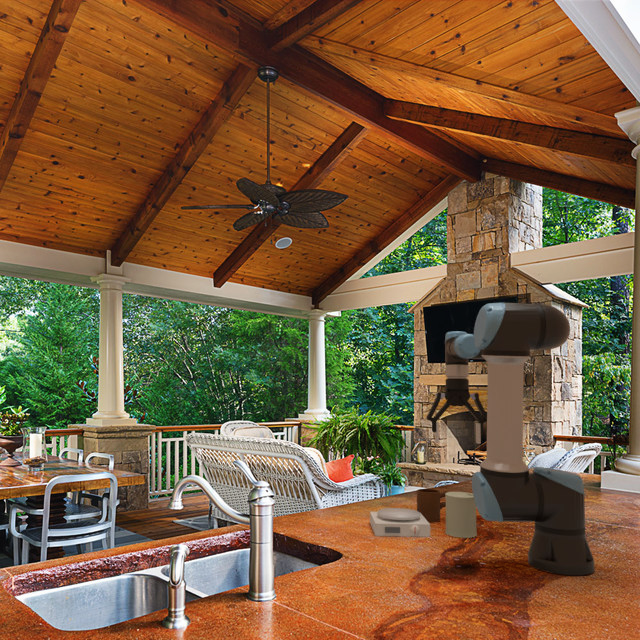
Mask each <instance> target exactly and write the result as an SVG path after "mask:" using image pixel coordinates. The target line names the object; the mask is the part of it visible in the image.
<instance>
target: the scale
mask: <svg viewBox="0 0 640 640" xmlns="http://www.w3.org/2000/svg"><path fill="white" fill-rule="evenodd" d="M369 523H370V526H371V529H372V531H373V534H374V536H375V537H405V538H406V537H409V538H410V537H411V538H412V537H413V538H414V537H415V538H416V537H417V538H431V524H430V522H428V521H427V520H426V519H425V518H424V517H423V515H422V514H421V513H420V512H418V511H417V510H415V509H411V508H404V507H403V508H402V507H400V508H399V507H387V508H386V507H385V508H379V509H378V510H377V511H370V512H369Z"/></svg>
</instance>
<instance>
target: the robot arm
mask: <svg viewBox="0 0 640 640" xmlns="http://www.w3.org/2000/svg"><path fill="white" fill-rule="evenodd" d="M570 332H571V325H570V322H569V319H568V318H567V316H566V315H565V314H564V313H563V312H562V311H561V310H560V309H558V308H557V307H555V306H552V305H550V304H544V303H521V302H520V303H518V302H492V303H491V302H490V303H486V304H485V305H483V306H482V307H481V308H480V309H479V312H478V314H477V316H476V320H475V323H474V327H473V333H467V332H466V331H458V330H456V331H448V332H446V333H445V336H444V337H445V340H444V345H445V346H444V347H445V351H444V352H445V354H444V355H445V358H444V360H445V391H444V393H442V392H436V393H435V399H434V402H433V403H432V404H431V407H430V409H429V412H428V413H427V415H426V420H427V421H429V422H431V431H432V433H434V443H435V444H436V443H437V444H439V443H440V422H438V421H439V420H440V418H441V417H442V416H443V415H444V413H446V411H447V410H448V408H449V407H465V408H466V409H467V410H468V411H469V412H470V414H471V415H472V416H473V418H474V419H475V420H476V421H477V422H476V423H475V443H476V444H478V445H479V444H481V441H482V440H481V439H482V438H481V434H484V424H485V423H486V458H485V459H484V460H482V462H480V466H479V467H480V468H479V471H475V472H474V473H473V474H472V479H471V490H472V494H473V496H474V501H475V504H476V511H478V514H479V515H480V516H481V518H482V519H484V520H485V521H488V522H498V523H504V522H505V523H506V522H507V523H508V522H514V523H517V522H520V523H528V522H529V523H534V531H533V532H534V534H533V535H532V539H531V542H530V546H529V548H528V551H527V560H528V561H527V563H528V564H529V565H530V566H531V567H533V568H534V569H537V570H540V571H543V572H546V573H551V574H555V575H556V574H557V575H565V576H585V575H586V576H587V575H591V574H592V573H594V572H595V570H596V569H595V559H594V557H593V552H592V550H591V547H590V544H589V541H588V540H587V537H586V506H585V500H586V499H585V496H586V493H585V484H584V480H583V478H582V477H581V475H579V474H577V473H574V472H570V471H567V470H560V469H557V468H556V469H555V468H552V467H551V468H549V467H542V466H535V467H533V469H532V472H530V467H529V466H528V465H527V464H526V463H525V462H524V459H523V457H524V456H523V454H524V453H523V450H524V449H523V446H524V438H523V437H524V364H525V363H526V362H527V361H528V360H529V359H530V358H531V352H534V351H549V350H553V349H554V350H555V349H557V348H560V347H561V346H562V345H564V344H565V342H567V341H568V339H569V337H570V334H571V333H570ZM469 359H470V360H471V359H472V360H485V361H486V363H487V387H486V388H487V392H486V393H487V399H486V404H487V405H486V410H485V408H484V406H483V404H482V401H480V395H479V393H478V392H473V393H470V391H469V390H470V389H469V388H470V383H469V382H470V381H469ZM443 398H445V400H446V401H445V403H444V404H443V405H442V407H440V409H439V410H438V411H437V413H436V414H435V412H436V410H437V408H438V406H439V404H440V402H441V400H443ZM470 398H471V400H472V401H474V404H475V406H476V408H477V410H478V412H479V413H480V414H479V413H478V412H477V411H476V410H475V408H474V407H473V406H472V405H471V403H470V402H469V400H470ZM434 414H435V415H434Z"/></svg>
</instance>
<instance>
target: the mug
mask: <svg viewBox="0 0 640 640" xmlns="http://www.w3.org/2000/svg"><path fill="white" fill-rule="evenodd" d="M447 492H448V490H447V491H444V490H443V491H442V492H440V490H439V489H435V488H433V489H432V488H420V489H417V490H416V511H418V512H420V513H421V514H422V515H423V517H424V518H425V519H426V520H427V521H428V522H429V523H437V522H440V520H441V510H442V509H443V508H446V501H442V502H441V499H442V498H446V497H445V493H447Z"/></svg>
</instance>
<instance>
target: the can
mask: <svg viewBox="0 0 640 640" xmlns="http://www.w3.org/2000/svg"><path fill="white" fill-rule="evenodd" d="M444 498H445V502H446V507H445V532H444V534H446V535H447V536H449V535H450V537H452V536H453V537H452V538H457V537H459V539H473V538H476V537H477V536H478V533H477V507H476V504H475V501H474V496H473V492H468V491H467V492H466V491H447V493H445V497H444ZM475 536H476V537H475ZM472 537H473V538H472Z"/></svg>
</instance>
